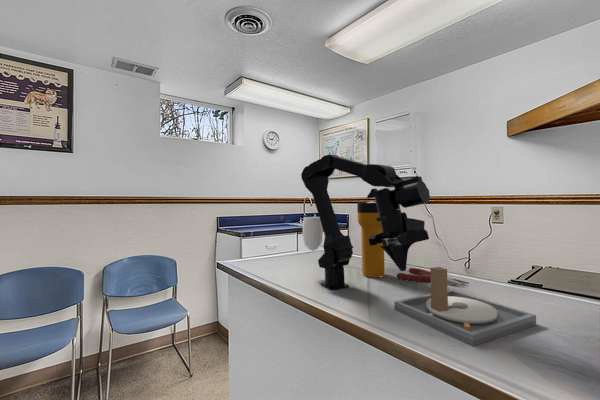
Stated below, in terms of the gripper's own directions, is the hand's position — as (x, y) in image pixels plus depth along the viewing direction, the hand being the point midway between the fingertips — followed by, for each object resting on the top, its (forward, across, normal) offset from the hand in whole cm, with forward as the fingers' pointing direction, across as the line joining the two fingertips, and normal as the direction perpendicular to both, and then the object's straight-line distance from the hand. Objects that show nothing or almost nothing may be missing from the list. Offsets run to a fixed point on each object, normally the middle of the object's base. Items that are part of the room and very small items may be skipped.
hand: (403, 270), depth 76 cm
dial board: (+11, -10, -5) cm, 16 cm away
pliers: (+9, +16, -18) cm, 26 cm away
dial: (+10, -10, -5) cm, 15 cm away
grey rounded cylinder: (+1, +34, +14) cm, 37 cm away
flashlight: (+5, +29, -6) cm, 30 cm away
